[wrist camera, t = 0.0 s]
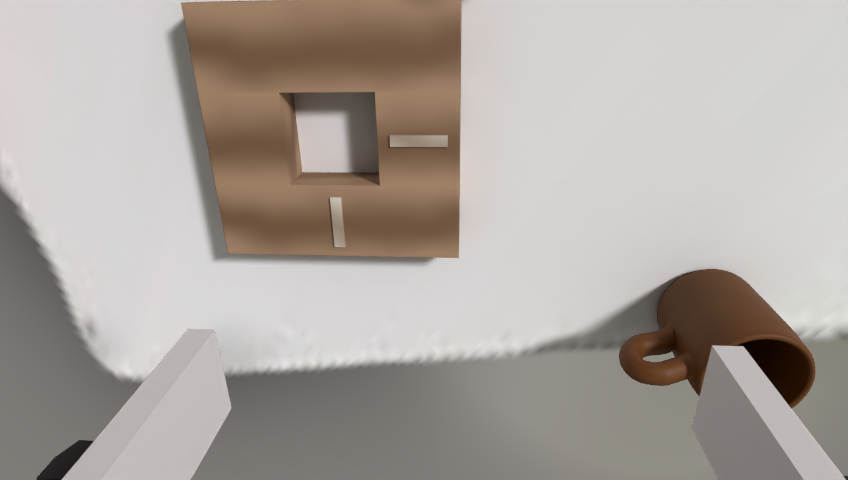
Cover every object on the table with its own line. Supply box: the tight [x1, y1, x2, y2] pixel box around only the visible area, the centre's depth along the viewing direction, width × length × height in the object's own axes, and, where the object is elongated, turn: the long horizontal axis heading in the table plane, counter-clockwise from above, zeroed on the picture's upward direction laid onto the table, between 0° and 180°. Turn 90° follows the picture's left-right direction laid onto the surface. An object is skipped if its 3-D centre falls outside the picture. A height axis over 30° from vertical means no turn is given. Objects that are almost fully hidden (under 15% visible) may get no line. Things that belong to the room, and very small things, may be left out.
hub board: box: [181, 0, 461, 258], centre depth 39 cm, size 18×18×3 cm
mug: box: [619, 269, 815, 408], centre depth 40 cm, size 12×8×9 cm, turn 95°
